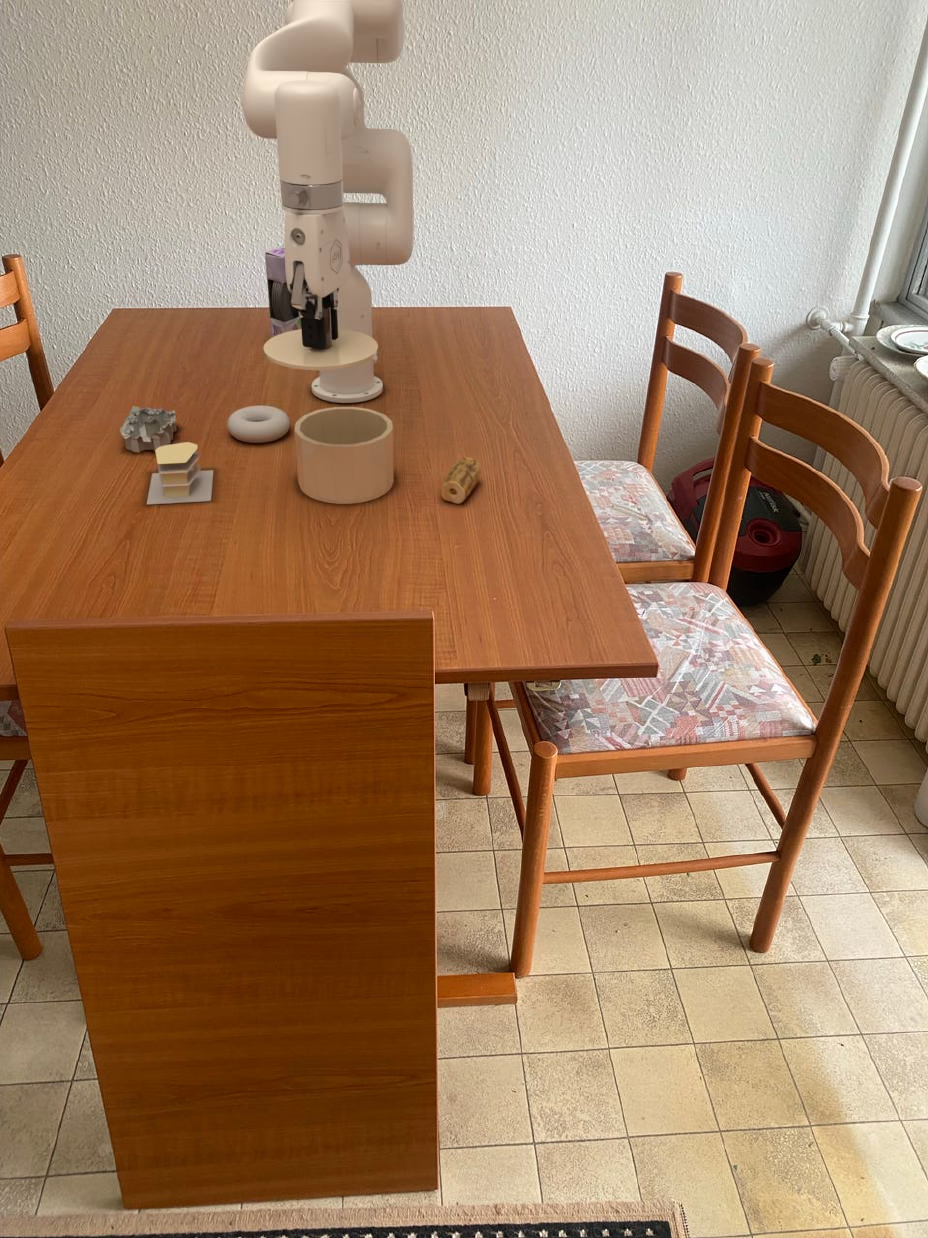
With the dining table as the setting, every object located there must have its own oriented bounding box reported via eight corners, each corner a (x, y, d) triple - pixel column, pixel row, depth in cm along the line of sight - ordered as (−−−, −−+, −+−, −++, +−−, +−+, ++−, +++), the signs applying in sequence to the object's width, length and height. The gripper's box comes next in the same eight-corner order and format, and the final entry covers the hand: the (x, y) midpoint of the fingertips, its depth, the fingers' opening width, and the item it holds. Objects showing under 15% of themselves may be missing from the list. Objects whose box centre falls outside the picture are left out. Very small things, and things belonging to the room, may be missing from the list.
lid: (294, 330, 145) (291, 284, 141) (394, 343, 141) (393, 296, 138) (243, 366, 133) (238, 316, 130) (351, 381, 129) (349, 331, 126)
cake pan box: (285, 348, 201) (278, 254, 191) (266, 342, 203) (258, 250, 193) (347, 322, 214) (343, 233, 204) (328, 317, 217) (324, 229, 207)
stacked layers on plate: (210, 501, 148) (206, 466, 145) (146, 504, 147) (140, 469, 144) (213, 470, 156) (209, 436, 153) (152, 473, 155) (146, 439, 152)
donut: (220, 428, 170) (239, 450, 162) (218, 408, 168) (236, 430, 160) (279, 418, 174) (299, 439, 166) (277, 398, 172) (297, 419, 164)
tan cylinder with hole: (465, 506, 149) (466, 481, 147) (437, 501, 150) (438, 476, 148) (482, 482, 155) (483, 457, 153) (455, 477, 156) (456, 453, 154)
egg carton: (169, 454, 161) (165, 429, 159) (120, 453, 161) (115, 429, 158) (181, 425, 170) (178, 402, 167) (135, 425, 169) (131, 401, 167)
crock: (322, 455, 162) (319, 401, 156) (406, 469, 158) (406, 414, 153) (282, 494, 151) (278, 437, 145) (372, 510, 147) (370, 452, 142)
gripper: (312, 212, 119) (321, 367, 129) (366, 184, 132) (370, 327, 142) (253, 206, 120) (266, 359, 131) (312, 179, 133) (320, 320, 144)
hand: (320, 341), depth 136 cm, fingers closed on lid, 3 cm apart
